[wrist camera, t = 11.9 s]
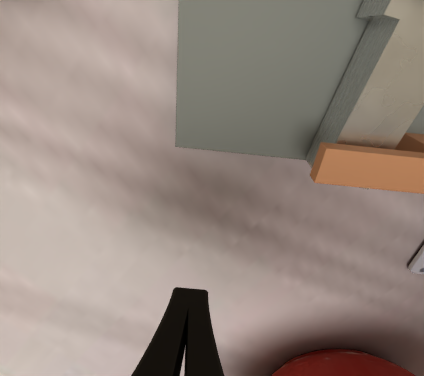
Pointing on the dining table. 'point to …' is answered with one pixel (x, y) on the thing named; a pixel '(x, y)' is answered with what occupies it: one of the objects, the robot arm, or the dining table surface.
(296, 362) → the mixing bowl
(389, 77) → the latch
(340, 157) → the bracket
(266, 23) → the base
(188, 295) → the robot arm
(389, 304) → the dining table surface
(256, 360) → the dining table surface
